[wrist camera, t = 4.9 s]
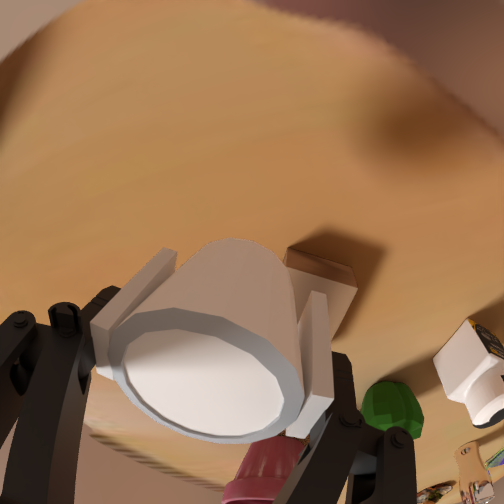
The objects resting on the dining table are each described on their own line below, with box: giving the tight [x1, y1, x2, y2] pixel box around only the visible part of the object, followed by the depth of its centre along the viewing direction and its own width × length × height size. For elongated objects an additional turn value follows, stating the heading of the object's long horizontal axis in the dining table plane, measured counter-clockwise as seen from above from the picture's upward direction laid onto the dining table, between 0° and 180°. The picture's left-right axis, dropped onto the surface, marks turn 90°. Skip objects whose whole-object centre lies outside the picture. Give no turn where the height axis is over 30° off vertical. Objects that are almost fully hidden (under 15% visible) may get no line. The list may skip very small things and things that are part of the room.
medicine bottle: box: [433, 318, 504, 429], centre depth 25 cm, size 7×7×12 cm
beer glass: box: [453, 441, 495, 504], centre depth 33 cm, size 7×7×15 cm
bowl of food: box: [417, 483, 452, 504], centre depth 47 cm, size 12×12×8 cm
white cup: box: [107, 238, 305, 444], centre depth 12 cm, size 7×7×7 cm
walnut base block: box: [283, 248, 358, 340], centre depth 29 cm, size 6×11×4 cm, turn 165°
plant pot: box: [222, 436, 305, 504], centre depth 37 cm, size 14×14×13 cm
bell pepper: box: [361, 381, 424, 440], centre depth 30 cm, size 8×8×10 cm
